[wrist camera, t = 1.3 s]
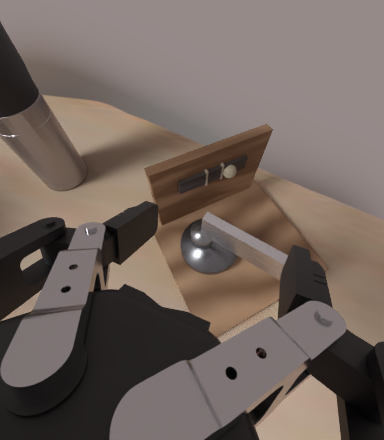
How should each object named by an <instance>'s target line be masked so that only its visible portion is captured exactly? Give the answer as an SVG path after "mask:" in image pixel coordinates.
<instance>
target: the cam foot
mask: <svg viewBox="0 0 384 440" xmlns="http://www.w3.org/2000/svg"><path fill="white" fill-rule="evenodd" d="M180 245H181V253H182V256H183V259H184V260H185V262H186V263H187V265H188V266H189V267H190V268H192V269H193V270H195V271H196V272H199V273H201V274H206V275H215V274H219V273H222V272H224V271H226V270H227V269H228V268H229V267H230V266H231V265H232V264H233V263H234V261H235V259H236V257H237V256H239V257H241V258H242V259H244V260H246V261H247V262H249V263H251V264H253V265H254V266H256V267H258V268H259V269H261V270H263V271H265V272H266V273H268V274H270V275H271V276H273V277H275V278H277V279H278V280H279V281H280V277H281V272H282V269H283V267H284V264H285V262H286V260H287V257H288V255H286V254H284V253H283V252H281V251H279V250H277V249H275V248H273V247H272V246H270V245H268V244H266V243H264V242H262V241H261V240H259V239H257V238H255V237H253V236H251V235H250V234H248V233H246V232H244V231H242V230H240V229H238V228H237V227H235V226H233V225H231V224H229V223H227V222H226V221H224V220H222V219H220V218H218V217H216V216H215V215H213V214H211V213H209V212H207V213H206V214H205V216H204V217H203V218H202V219H198V220H196V221H194V222H192V223H191V224H190V225H188V226H187V228H186V229H185V230H184V232H183V234H182V237H181V244H180Z"/></svg>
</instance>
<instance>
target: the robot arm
mask: <svg viewBox="0 0 384 440" xmlns="http://www.w3.org/2000/svg"><path fill="white" fill-rule="evenodd" d="M0 138H1V139H2V140H3V141H4V142H5V143H6V144H7V145H8V146H9V147H10V148H11V149H12V150H13V151H14V152H15V153H16V154H17V155H18V156H19V157H20V158H21V159H22V160H23V161H24V162H25V163H26V164H27V166H28V167H29V168H30V169H31V170H32V171H33V172H34V173H35V174H36V175H37V176H38V177H39V178H40V179H41V180H42V181H43V182H44V183H45V184H46V185H47V186H48V187H49V188H51V189H53V190H56V191H64V190H69V189H72V188H74V187H76V186H77V185H79V184H80V183H81V182H82V181H83V180H84V179H85V177H86V175H87V167H86V165H85V163H84V162H83V160H82V158H81V157H80V155H79V154H78V152H77V150H76V149H75V147H74V146H73V144H72V142H71V141H70V139H69V138H68V136H67V134H66V133H65V131H64V130H63V128H62V126H61V125H60V123H59V122H58V120H57V118H56V117H55V115H54V114H53V112H52V111H51V109H50V107H49V106H48V104H47V103H46V101H45V100H44V98H43V96H42V95H41V93H40V92H39V90H38V88H37V87H36V85H35V84H34V82H33V80H32V78H31V76H30V74H29V72H28V70H27V68H26V66H25V64H24V62H23V60H22V59H21V56H20V55H19V53H18V52H17V50H16V48H15V46H14V45H13V43H12V41H11V40H10V38H9V36H8V34H7V33H6V31H5V29H4V27H3V26H2V24H1V22H0ZM157 228H158V205H157V204H154V203H151V202H148V201H145V202H143V203H141V204H140V205H138V206H135V207H132V208H128V209H127V210H125V211H123V213H120V214H118V215H116V216H115V217H113V218H111V219H110V220H108V221H106V222H104V223H103V224H101V223H96V222H91V223H86V224H83V225H80V226H79V227H78V228H77V229H75V228H66V226H65V222H64V220H63V219H61V218H57V217H51V218H45V219H41V220H39V221H37V222H34V223H32V224H30V225H28V226H26V227H23V228H21V229H19V230H17V231H15V232H13V233H10V234H8V235H6V236H4V237H2V238H0V440H259V437H258V434H257V432H256V429H255V427H256V426H258V425H259V424H260V423H261V422H262V421H263V420H264V419H265V418H266V417H267V416H268V415H270V414H271V412H272V411H273V410H274V409H275V408H276V407H277V406H278V405H279V404H280V403H281V402H282V401H283V400H284V399H285V398H286V397H287V396H288V395H290V394H291V393H292V392H293V391H294V390H295V389H296V388H297V387H299V386H300V385H301V384H302V383H303V382H304V381H305V380H306V379H308V378H309V377H310V376H311V375H312V376H313V377H315V378H316V379H317V380H319V381H320V382H321V383H322V384H324V385H325V386H326V387H327V388H329V389H330V390H331V391H333V392H334V393H335V394H336V395H337V404H338V414H339V423H340V432H341V440H384V342H379V343H377V344H376V345H375V346H372V345H370V344H369V343H367V342H366V341H364V340H362V339H361V338H359V337H357V336H356V335H354V334H353V333H351V332H350V331H349V330H347V329H346V323H345V321H344V319H343V318H342V317H341V315H340V314H339V313H338V312H337V311H336V310H334V309H333V307H332V303H331V298H330V294H329V289H328V286H327V280H326V276H325V271H324V269H323V268H322V267H321V265H320V264H319V263H318V262H316V261H312V260H311V256H310V250H309V249H306V248H303V247H299V246H296V245H293V246H292V248H291V250H290V253H289V255H288V257H287V260H286V262H285V264H284V267H283V269H282V272H281V277H280V291H279V308H278V320H276V321H275V320H274V319H273V318H272V317H268V318H266V319H264V320H262V321H260V322H258V323H257V324H255V325H253V326H251V327H249V328H248V329H246V330H244V331H242V332H241V333H239V334H237V335H235V336H234V337H232V338H230V339H228V340H226V341H225V342H223V343H221V342H220V341H219V340H218V339H217V338H216V337H215V336H214V335H213V334H212V333H211V332H210V331H209V328H210V324H211V322H209V321H206V320H204V319H202V318H200V317H198V316H195V315H193V314H191V313H189V312H185V311H180V310H175V309H169V308H164V307H161V306H160V305H158V304H157V303H156V302H155V301H154V300H152V299H151V298H150V297H149V296H147V295H146V294H145V293H144V292H142V291H139V290H137V289H135V288H133V287H130V286H128V285H126V284H124V285H123V286H122V287H121V288H120V289H119V290H113V289H108V290H107V288H108V280H109V272H110V263H111V262H115V263H117V264H119V265H121V264H122V263H123V262H124V261H125V260H126V259H127V258H129V257H130V256H131V255H132V254H133V253H134V252H135V251H137V250H138V249H139V248H140V247H141V246H142V245H143V244H144V243H146V242H147V241H148V240H149V239H150V238H151V237H152V236H153V235H154V234H155V233H156V231H157ZM38 249H40V250H41V253H42V257H43V258H42V259H40V260H39V261H37V262H36V263H34V264H32V265H31V266H29V267H28V268H26V269H24V270H23V271H22V270H21V268H20V263H21V261H22V259H23V258H24V257H26V256H28V255H29V254H31V253H33V252H34V251H36V250H38ZM40 290H42V291H41V293H40V295H39V297H38V300H37V302H36V304H35V306H34V308H33V310H32V311H31V312H29V313H25V314H22V315H19V316H16V317H13V318H10V319H7V320H4V321H1V320H2V319H4V318H5V317H6V316H7V315H9V314H10V313H11V312H13V311H14V310H15V309H17V308H18V307H19V306H21V305H22V304H23V303H25V302H26V301H27V300H28V299H30V298H31V297H32V296H34V295H35V294H36V293H38V292H39V291H40Z"/></svg>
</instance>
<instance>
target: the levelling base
mask: <svg viewBox="0 0 384 440" xmlns="http://www.w3.org/2000/svg"><path fill="white" fill-rule="evenodd" d="M272 130H273V129H272V128H271V127H270V126H269V125H267V124H265V125H262V126H260V127H257V128H254V129H252V130H249V131H246V132H243V133H240V134H238V135H235V136H232V137H230V138H227V139H224V140H222V141H218V142H216V143H213V144H210V145H207V146H205V147H202V148H199V149H196V150H194V151H191V152H188V153H185V154H183V155H180V156H177V157H175V158H172V159H169V160H166V161H164V162H161V163H158V164H155V165H153V166H150V167H147V168H144V169H145V172H146V176H147V179H148V183H149V186H150V190H151V193H152V197H153V200H154V204H157V205H158V218H159V220H158V228H157V231H156V233H155V234H154V236H155V238H156V240H157V242H158V244H159V246H160V248H161V251H162V253H163V255H164V257H165V259H166V261H167V264H168V266H169V268H170V270H171V272H172V274H173V276H174V279H175V281H176V283H177V285H178V287H179V289H180V292H181V294H182V296H183V298H184V300H185V302H186V304H187V307H188V309H189V311H190V313H191V314H193V315H195V316H198V317H200V318H202V319H204V320H206V321H209V322H211V324H210V328H209V331H210V332H211V333H212V334H213V335H214V336H215V337H217V336H219V335H221V334H222V333H224V332H226V331H227V330H229V329H231V328H232V327H234V326H236V325H237V324H239V323H240V322H242V321H244V320H245V319H247V318H249V317H250V316H252V315H254V314H255V313H257V312H259V311H260V310H262V309H264V308H265V307H267V306H269V305H270V304H272V303H274V302H275V301H277V300H279V291H280V281H279V280H278V279H277V278H275V277H273V276H271V275H270V274H268V273H266V272H265V271H263V270H261V269H259V268H258V267H256V266H254V265H253V264H251V263H249V262H247V261H246V260H244V259H242V258H241V257H239V256H237V257H236V259H235V261H234V263H233V264H232V265H231V266H230V267H229V268H228V269H227V270H226V271H224V272H222V273H219V274H215V275H206V274H201V273H199V272H196V271H195V270H193V269H192V268H190V267H189V266H188V265H187V263H186V262H185V260H184V259H183V256H182V253H181V245H180V244H181V237H182V234H183V232H184V230H185V229H186V228H187V226H188V225H190V224H191V223H192V222H194V221H196V220H198V219H202V218H203V217H204V216H205V214H206V213H207V212H209V213H211V214H213V215H215V216H216V217H218V218H220V219H222V220H224V221H226V222H227V223H229V224H231V225H233V226H235V227H237V228H238V229H240V230H242V231H244V232H246V233H248V234H250V235H251V236H253V237H255V238H257V239H259V240H261V241H262V242H264V243H266V244H268V245H270V246H272V247H273V248H275V249H277V250H279V251H281V252H283V253H284V254H286V255H289V253H290V250H291V248H292V246H293V245H296V246H299V247H303V248H306V249H309V250H310V256H311V260H312V261H316V262H318V263H319V264H320V265H321V267H322V268H323V269H324V271H327V270H328V269H329V268H328V267H327V266H326V265H325V264H324V262H323V261H322V260H321V259H320V258H319V256H318V255H317V254H316V253H315V252H314V250H313V249H312V248H311V247H310V246H309V244H308V243H307V242H306V241H305V240H304V238H303V237H302V236H301V235H300V234H299V232H298V231H297V230H296V229H295V228H294V226H293V225H292V224H291V223H290V222H289V221H288V219H287V218H286V217H285V216H284V215H283V213H282V212H281V211H280V210H279V209H278V207H277V206H276V205H275V204H274V203H273V201H272V200H271V199H270V198H269V197H268V195H267V194H266V193H265V192H264V191H263V189H262V188H261V187H260V186H259V185H258V183H257V182H256V181H255V180H254V179H253V178H254V176H255V173H256V171H257V168H258V166H259V163H260V161H261V158H262V155H263V153H264V150H265V148H266V146H267V143H268V141H269V138H270V135H271V133H272Z"/></svg>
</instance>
